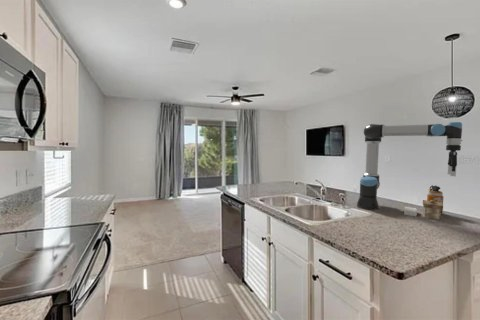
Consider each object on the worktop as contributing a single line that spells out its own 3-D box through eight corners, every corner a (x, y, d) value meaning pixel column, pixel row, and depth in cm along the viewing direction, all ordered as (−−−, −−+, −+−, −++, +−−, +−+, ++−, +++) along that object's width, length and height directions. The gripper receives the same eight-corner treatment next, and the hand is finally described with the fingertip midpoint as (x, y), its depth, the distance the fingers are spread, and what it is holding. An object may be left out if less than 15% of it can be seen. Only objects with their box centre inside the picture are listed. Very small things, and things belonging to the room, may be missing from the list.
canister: (429, 214, 168) (431, 186, 167) (422, 210, 179) (424, 183, 178) (445, 215, 166) (446, 187, 164) (437, 211, 176) (438, 184, 175)
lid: (423, 207, 160) (423, 201, 159) (422, 203, 170) (422, 197, 170) (443, 209, 154) (443, 203, 154) (440, 205, 165) (441, 199, 164)
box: (424, 217, 160) (425, 207, 160) (423, 213, 169) (424, 204, 169) (440, 219, 156) (440, 209, 155) (438, 215, 165) (439, 205, 164)
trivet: (403, 214, 166) (404, 210, 166) (404, 210, 177) (404, 206, 177) (416, 216, 162) (416, 212, 162) (415, 212, 173) (416, 208, 173)
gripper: (464, 144, 152) (461, 177, 153) (457, 145, 173) (455, 174, 174) (448, 144, 157) (446, 176, 158) (444, 144, 177) (442, 173, 178)
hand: (451, 175), depth 166 cm, fingers open, 13 cm apart
